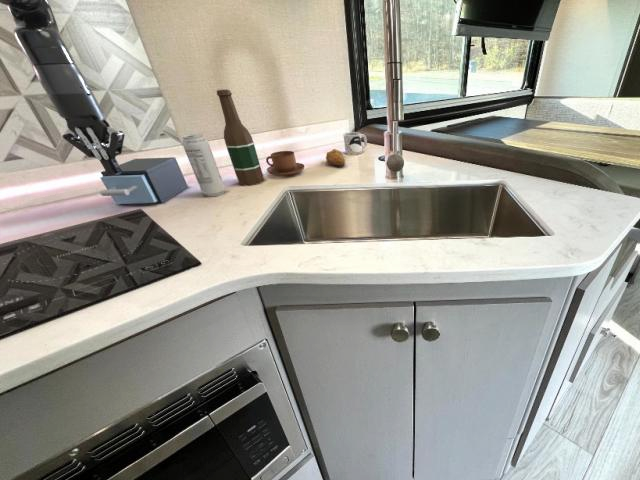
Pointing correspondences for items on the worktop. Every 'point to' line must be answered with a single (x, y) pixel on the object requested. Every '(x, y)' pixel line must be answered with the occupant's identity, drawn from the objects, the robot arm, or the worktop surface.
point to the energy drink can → (203, 164)
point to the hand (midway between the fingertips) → (116, 174)
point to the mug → (354, 142)
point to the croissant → (336, 158)
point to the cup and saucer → (283, 164)
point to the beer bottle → (239, 143)
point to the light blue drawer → (128, 189)
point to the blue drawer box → (157, 176)
